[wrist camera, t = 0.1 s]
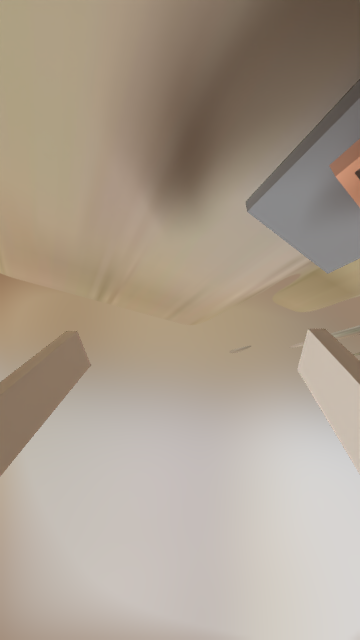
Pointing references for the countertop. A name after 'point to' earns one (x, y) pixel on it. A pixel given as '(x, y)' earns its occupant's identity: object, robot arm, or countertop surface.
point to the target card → (318, 190)
